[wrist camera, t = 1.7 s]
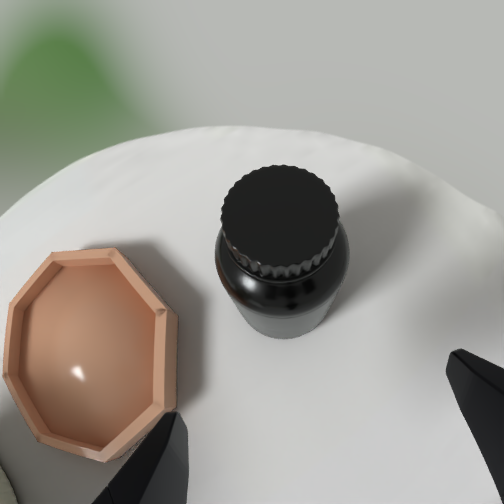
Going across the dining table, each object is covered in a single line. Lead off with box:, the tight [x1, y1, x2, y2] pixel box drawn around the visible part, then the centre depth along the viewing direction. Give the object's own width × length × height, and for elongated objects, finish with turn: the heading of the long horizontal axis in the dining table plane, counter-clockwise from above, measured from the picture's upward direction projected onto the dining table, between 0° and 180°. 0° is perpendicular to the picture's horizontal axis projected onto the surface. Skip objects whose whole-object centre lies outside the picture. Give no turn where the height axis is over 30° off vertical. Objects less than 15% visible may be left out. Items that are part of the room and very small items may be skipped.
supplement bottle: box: [215, 165, 349, 339], centre depth 18 cm, size 7×7×12 cm
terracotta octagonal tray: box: [3, 247, 178, 463], centre depth 22 cm, size 17×17×2 cm
